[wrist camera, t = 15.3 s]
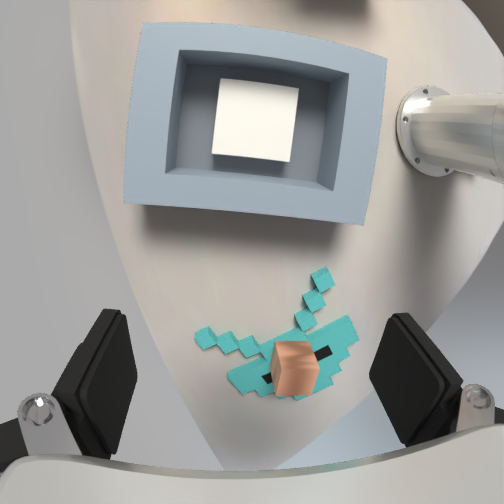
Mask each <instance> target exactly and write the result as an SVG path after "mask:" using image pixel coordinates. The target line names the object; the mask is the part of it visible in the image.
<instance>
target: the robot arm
mask: <svg viewBox="0 0 504 504" xmlns="http://www.w3.org/2000/svg"><path fill="white" fill-rule="evenodd" d="M397 135H398V140H399V143H400V147H401V149H402V151H403V153H404V155H405V157H406V158H407V160H408V161H409V163H410V164H411V165H412V166H413V167H414V168H415V169H417V170H418V171H420V172H421V173H424V174H426V175H429V176H433V177H441V176H446V175H448V174H450V173H452V172H453V171H454V170H456V171H460V172H464V173H467V174H471V175H475V176H478V177H482V178H485V179H488V180H492V181H495V182H498V183H501V184H504V93H476V94H456V95H450V94H449V93H448V92H447V91H445V90H443V89H442V88H439V87H436V86H429V85H427V86H421V87H418V88H415V89H413V90H412V91H410V92H409V93H408V94H407V95H406V96H405V97H404V99H403V101H402V103H401V105H400V107H399V110H398V115H397ZM369 377H370V380H371V382H372V384H373V386H374V388H375V390H376V392H377V394H378V396H379V398H380V400H381V402H382V404H383V407H384V409H385V411H386V413H387V415H388V417H389V419H390V421H391V423H392V425H393V427H394V429H395V432H396V434H397V436H398V438H399V440H400V442H401V443H402V444H405V446H406V448H404V449H400V450H396V451H392V452H388V453H384V454H380V455H375V456H371V457H367V458H361V459H356V460H351V461H345V462H340V463H333V464H327V465H320V466H312V467H304V468H294V469H281V470H264V471H203V470H186V469H174V468H164V467H155V466H146V465H139V464H132V463H126V462H119V461H114V460H110V457H111V454H116V452H117V449H118V445H119V441H120V438H121V434H122V430H123V427H124V423H125V419H126V416H127V412H128V409H129V405H130V402H131V399H132V395H133V392H134V389H135V385H136V382H137V369H136V365H135V360H134V355H133V350H132V346H131V341H130V335H129V330H128V325H127V319H126V316H125V315H124V314H121V311H120V310H114V309H103V310H102V312H101V314H100V315H99V317H98V318H97V320H96V322H95V323H94V325H93V326H92V328H91V330H90V331H89V333H88V335H87V337H86V338H85V340H84V342H83V343H81V344H80V345H79V346H78V347H77V349H76V350H75V352H74V354H73V356H72V357H71V359H70V361H69V363H68V365H67V366H66V368H65V370H64V372H63V373H62V375H61V377H60V379H59V381H58V382H57V385H56V386H55V388H54V390H53V392H52V394H51V395H49V394H46V393H36V394H32V395H30V396H28V397H26V398H25V399H24V400H23V401H22V402H21V404H20V405H19V408H18V411H17V412H18V418H16V419H13V420H10V421H8V422H5V423H3V424H0V504H504V410H503V409H500V408H497V407H495V402H494V397H493V395H492V394H491V393H490V391H489V390H488V389H486V388H485V387H483V386H481V385H478V384H469V385H467V386H465V387H464V388H463V389H462V388H461V384H462V383H463V380H462V378H461V377H460V376H459V374H458V373H457V372H456V370H455V369H454V368H453V367H452V365H451V364H450V363H449V362H448V360H447V359H446V358H445V356H444V355H443V354H442V353H441V351H440V350H439V349H438V348H437V346H436V345H435V344H434V343H433V342H432V340H431V339H430V338H429V337H428V336H427V334H426V333H425V332H424V331H423V330H422V328H421V327H420V326H419V325H418V324H417V322H416V321H415V320H414V319H413V318H412V317H411V315H410V314H408V313H395V314H393V315H392V316H391V318H389V319H388V321H387V324H386V327H385V330H384V333H383V336H382V339H381V341H380V344H379V347H378V350H377V353H376V355H375V358H374V361H373V364H372V366H371V369H370V372H369Z"/></svg>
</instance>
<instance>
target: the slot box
mask: <svg viewBox="0 0 504 504" xmlns="http://www.w3.org/2000/svg"><path fill="white" fill-rule="evenodd" d="M386 69H387V58H384V57H381V56H378V55H375V54H372V53H369V52H366V51H363V50H360V49H357V48H353V47H350V46H346V45H343V44H339V43H335V42H331V41H327V40H323V39H319V38H315V37H310V36H306V35H301V34H296V33H290V32H285V31H279V30H273V29H266V28H259V27H251V26H242V25H231V24H218V23H197V22H161V23H143V26H142V31H141V36H140V41H139V46H138V51H137V57H136V63H135V69H134V76H133V83H132V90H131V98H130V107H129V116H128V126H127V138H126V152H125V171H124V203H129V204H145V205H161V206H175V207H189V208H201V209H214V210H225V211H236V212H247V213H258V214H268V215H277V216H287V217H296V218H305V219H314V220H322V221H331V222H339V223H347V224H355V225H362V226H363V225H364V221H365V216H366V211H367V206H368V201H369V196H370V191H371V185H372V180H373V174H374V168H375V162H376V156H377V149H378V142H379V135H380V128H381V120H382V111H383V102H384V92H385V81H386Z"/></svg>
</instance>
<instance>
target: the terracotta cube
mask: <svg viewBox="0 0 504 504" xmlns="http://www.w3.org/2000/svg"><path fill="white" fill-rule="evenodd" d="M270 370H271V375H272V381H273V386H274V391H275V396H297V395H312V392H313V389H314V386H315V383H316V380H317V376H318V373H319V370H320V367H319V365H318V362H317V360H316V357H315V354H314V352H313V349H312V347H311V344H310V341H275V343H274V348H273V354H272V359H271V364H270Z"/></svg>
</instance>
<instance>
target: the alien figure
mask: <svg viewBox="0 0 504 504" xmlns="http://www.w3.org/2000/svg"><path fill="white" fill-rule="evenodd" d="M311 276H312V278H313V280H314V282H315V284H316V286H317V288H315V289H313V290H311V291H309V292H307V293H306V294H304V295H303V297H304V300H305V302H306V304H307V305H308V308H306V309H304V310H302V311H300V312H298V313H296V314H295V317H296V320H297V322H298V324H299V325H300V326H298V327H296V328H294V329H292V330H290V331H288V332H286V333H284V334H282V335H280V336H278V337H276V338H274V339H272V340H270V341H267V342H265V343H263V344H261V345H259V344H258V343H257V341H256V340H255V338H254V337H253V336H252V335H251V336H249V337H247V338H245V339H243V340H240V341H238V340H237V339H236V338H235V336H234V335H233V333H232V332H231V331H229V332H227V333H225V334H223V335H221V336H218V337H216V335H215V334H214V333H213V331H212V330H211V329H210V327H209V326H208V327H206V328H204V329H202V330H199V331H197V332H195V338H194V339H195V340H196V342H197V343H198V344H199V345H200V346H201V348H202V349H203V350H204V349H206V348H209V347H211V346H213V345H215V344H217V345H218V346H219V347H220V348H221V350H222V351H223V352H224V353H225V354H227V353H229V352H231V351H234V350H236V349H238V348H239V349H240V350H241V351H242V353H243V354H244V355H245V357H246V358H248V357H250V356H253V355H255V354H257V353H259V352H261V353H262V355H263V357H260V358H258V359H256V360H254V361H252V362H249V363H247V364H245V365H242V366H240V367H238V368H235V369H233V370H231V371H228V379H229V380H230V381H231V382H232V383H233V385H234V386H235V387H236V388H237V389H238V390H239V391H240V392H241V393H242V394H245V393H248V392H250V391H253V390H256V391H257V393H258V394H259V395H260V396H261V397H263V396H265V395H268V394H270V393H273V392H274V393H275V391H274V386H273V381H272V375H271V370H270V364H271V359H272V354H273V348H274V343H275V341H310V344H311V347H312V349H313V352H314V354H315V357H316V360H317V362H318V365H319V367H320V370H319V373H318V376H317V380H316V383H315V386H314V389H313V392H312V394H313V393H316V392H318V391H320V390H322V389H324V388H326V387H329V386H331V385H333V382H332V379H331V377H330V376H332V375H334V374H336V373H338V372H340V371H342V370H341V368H340V366H339V364H338V362H340V361H342V360H344V359H346V358H348V357H349V356H350V354H349V352H348V350H347V348H346V347H348V346H349V345H351V344H353V343H355V342H357V341H359V339H358V336H357V334H356V331H355V329H354V327H353V324H352V322H351V320H350V318H349V317H348V315H345V316H343V317H342V318H340V319H338V320H336V321H334V322H332V323H330V324H328V325H326V326H324V327H323V328H321V329H319V330H317V331H315V332H313V333H311V334H309V335H306V334H305V332H304V331H305V330H307V329H309V328H311V327H313V326H315V325H317V322H316V320H315V318H314V316H313V314H312V312H314V311H316V310H318V309H320V308H322V307H324V306H326V304H325V302H324V300H323V298H322V296H321V294H320V293H321V292H323V291H325V290H327V289H329V288H330V287H332V286H334V285H335V283H334V281H333V279H332V277H331V274H330V272H329V271H328V269H327V268H326V267H324V268H322V269H320V270H318V271H316V272H315V273H313V274H311ZM307 396H309V395H297V396H294V397H295V399H296V400H297V401H298V400H300V399H302V398H304V397H307ZM277 397H278V398H279V399H281V398H283V397H286V396H277Z"/></svg>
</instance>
